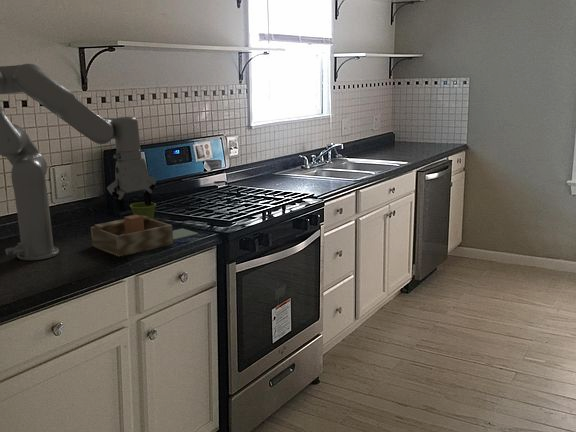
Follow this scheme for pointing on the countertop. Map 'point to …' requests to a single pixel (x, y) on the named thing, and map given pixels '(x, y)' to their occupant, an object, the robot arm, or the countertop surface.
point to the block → (133, 224)
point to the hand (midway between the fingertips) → (135, 207)
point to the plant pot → (143, 209)
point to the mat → (183, 234)
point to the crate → (131, 237)
